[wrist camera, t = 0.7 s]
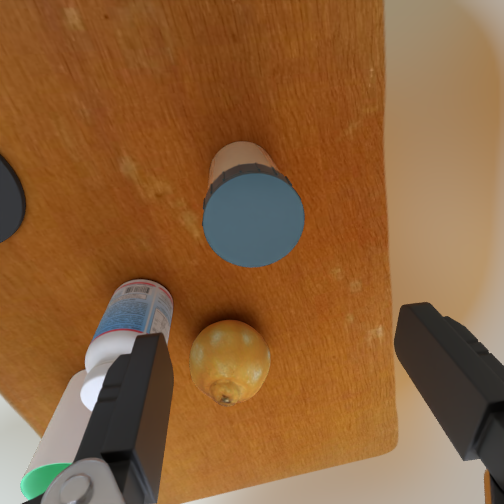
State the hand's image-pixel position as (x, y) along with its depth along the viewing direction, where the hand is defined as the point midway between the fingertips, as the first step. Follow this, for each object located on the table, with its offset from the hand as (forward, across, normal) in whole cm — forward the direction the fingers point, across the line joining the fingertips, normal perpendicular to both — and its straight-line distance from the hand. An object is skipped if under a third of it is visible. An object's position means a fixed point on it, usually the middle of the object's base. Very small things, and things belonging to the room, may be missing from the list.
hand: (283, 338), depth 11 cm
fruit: (+20, +3, +18) cm, 27 cm away
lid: (+10, 0, 0) cm, 10 cm away
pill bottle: (+20, +11, +12) cm, 26 cm away
